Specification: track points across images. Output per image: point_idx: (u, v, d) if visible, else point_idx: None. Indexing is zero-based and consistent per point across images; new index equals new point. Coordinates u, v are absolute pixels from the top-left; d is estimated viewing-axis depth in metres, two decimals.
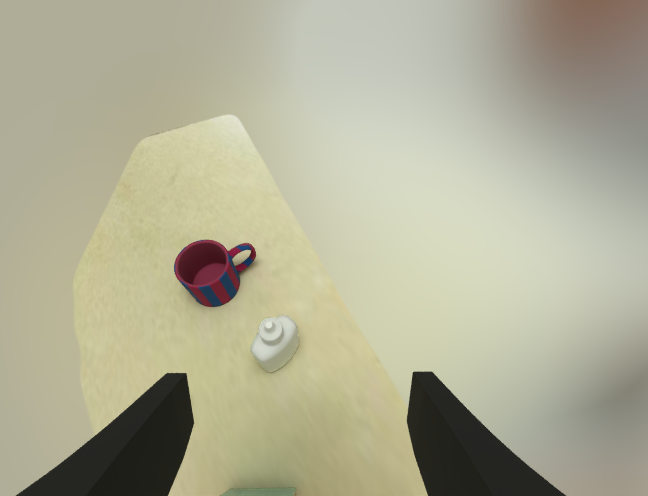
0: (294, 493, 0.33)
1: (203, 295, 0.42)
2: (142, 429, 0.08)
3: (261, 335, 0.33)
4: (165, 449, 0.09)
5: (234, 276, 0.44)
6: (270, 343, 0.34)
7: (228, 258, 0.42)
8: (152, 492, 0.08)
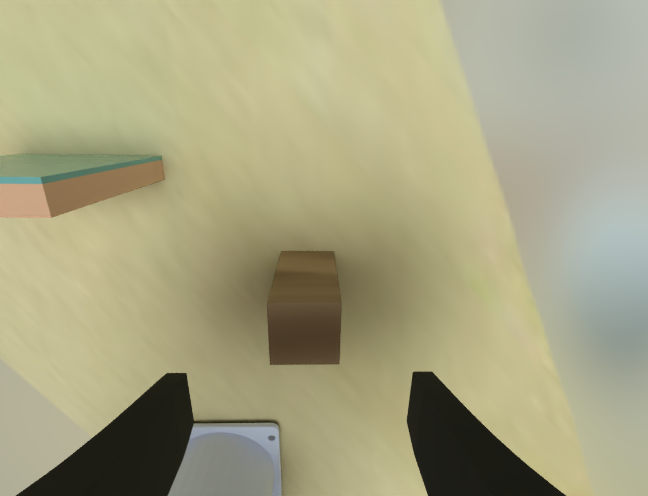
0: (135, 164, 0.15)
1: None
2: (142, 429, 0.08)
3: None
4: (165, 449, 0.09)
5: None
6: None
7: None
8: (152, 492, 0.08)
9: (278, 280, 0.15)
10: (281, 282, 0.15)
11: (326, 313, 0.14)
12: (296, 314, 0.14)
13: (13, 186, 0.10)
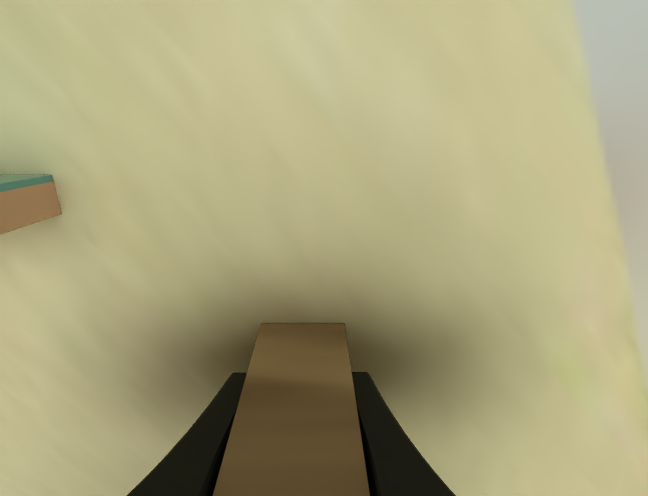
0: None
1: None
2: (228, 428, 0.08)
3: None
4: None
5: None
6: None
7: None
8: None
9: (246, 409, 0.08)
10: (251, 418, 0.08)
11: None
12: None
13: None
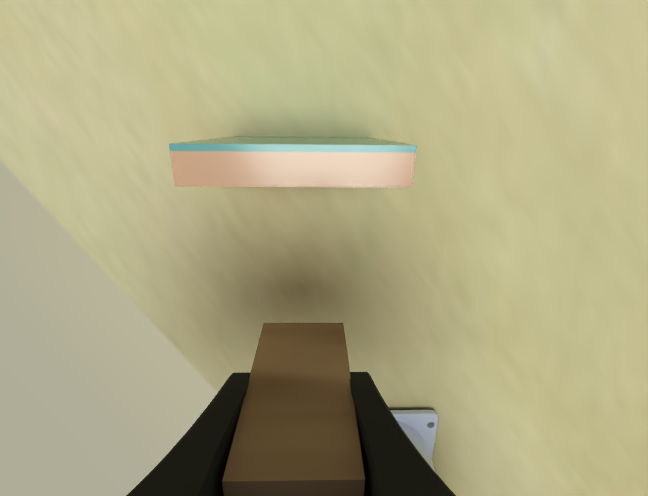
0: None
1: None
2: (228, 428, 0.08)
3: None
4: None
5: None
6: None
7: None
8: None
9: (251, 402, 0.09)
10: (256, 410, 0.09)
11: (336, 495, 0.07)
12: None
13: (386, 155, 0.10)
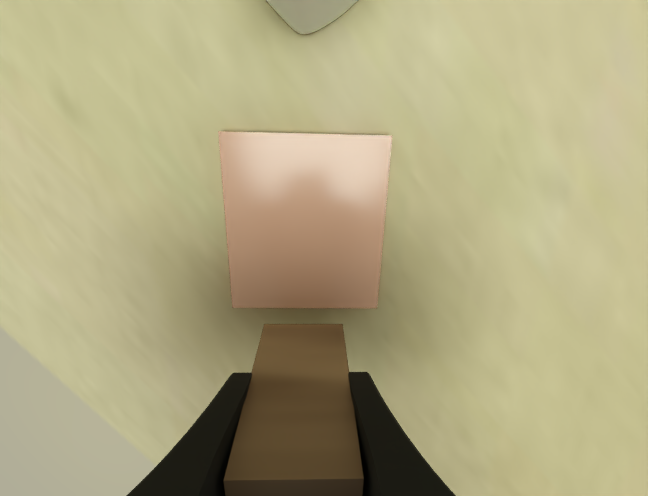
0: None
1: None
2: (229, 428, 0.08)
3: None
4: None
5: None
6: None
7: None
8: None
9: (252, 402, 0.09)
10: (257, 410, 0.09)
11: (336, 494, 0.07)
12: None
13: None
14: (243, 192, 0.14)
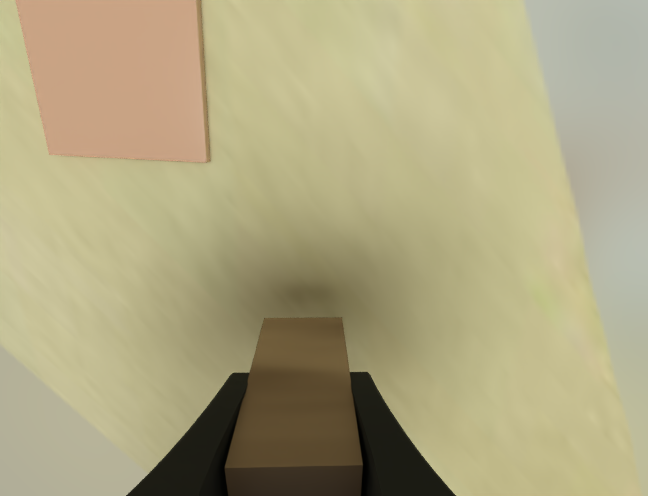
0: None
1: None
2: (228, 428, 0.08)
3: None
4: None
5: None
6: None
7: None
8: None
9: (252, 393, 0.09)
10: (257, 400, 0.09)
11: (336, 481, 0.07)
12: (279, 483, 0.07)
13: None
14: (39, 10, 0.13)
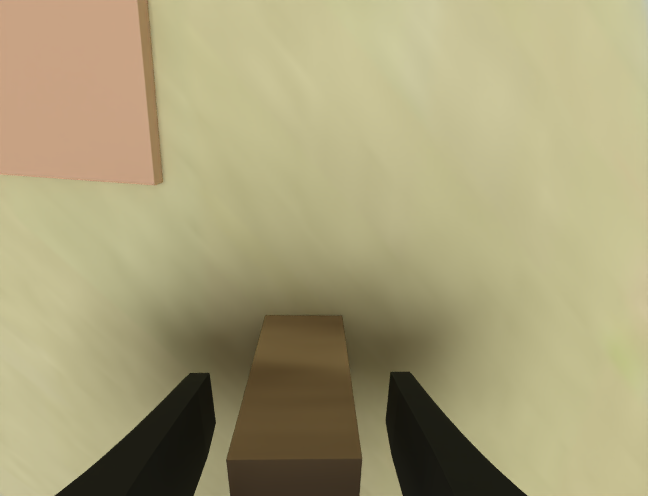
0: None
1: None
2: (172, 429, 0.08)
3: None
4: (192, 449, 0.09)
5: None
6: None
7: None
8: (180, 491, 0.08)
9: (254, 388, 0.09)
10: (258, 395, 0.09)
11: (335, 474, 0.08)
12: (279, 475, 0.08)
13: None
14: None
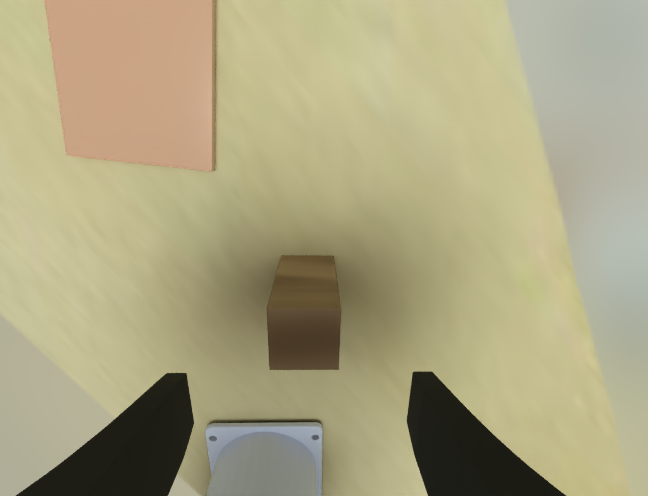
0: None
1: None
2: (142, 429, 0.08)
3: None
4: (165, 449, 0.09)
5: None
6: None
7: None
8: (152, 492, 0.08)
9: (278, 285, 0.15)
10: (281, 288, 0.15)
11: (326, 319, 0.14)
12: (295, 319, 0.14)
13: None
14: (68, 26, 0.14)
